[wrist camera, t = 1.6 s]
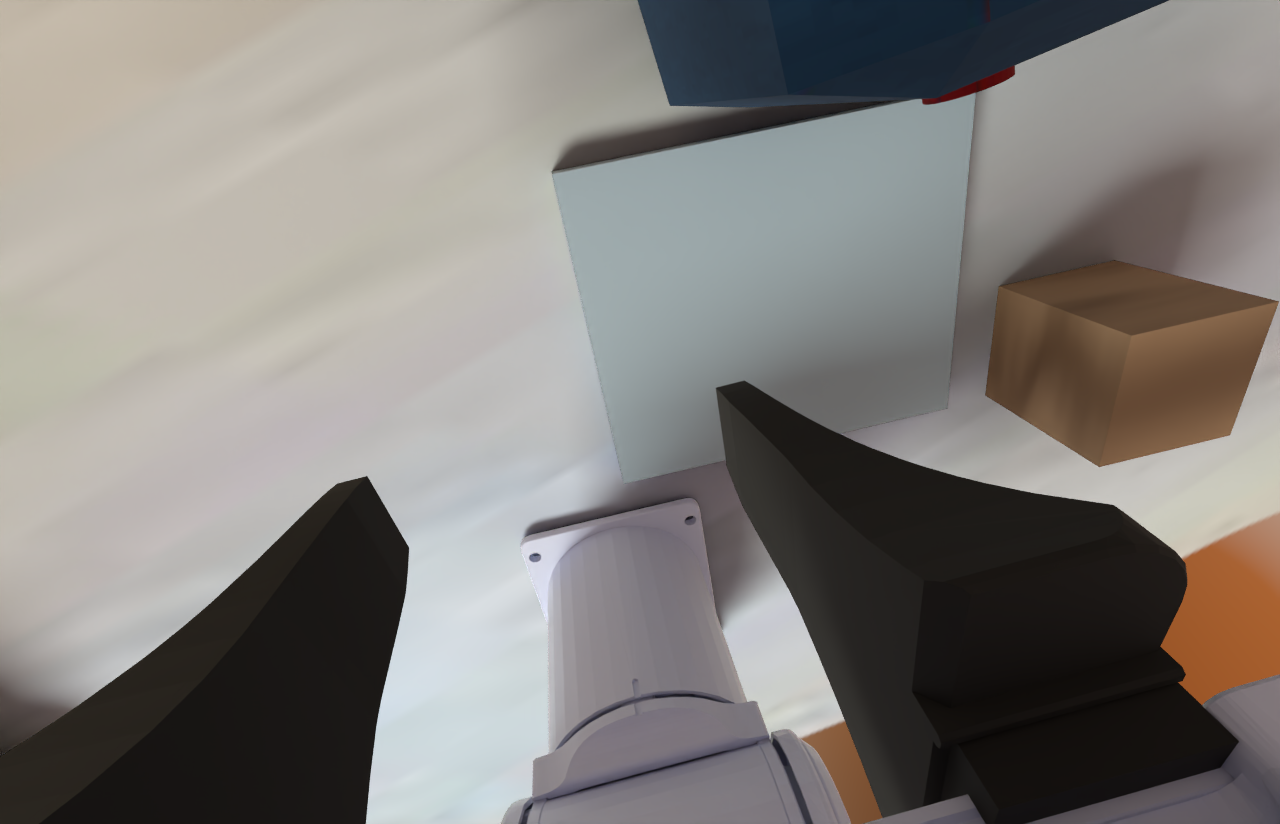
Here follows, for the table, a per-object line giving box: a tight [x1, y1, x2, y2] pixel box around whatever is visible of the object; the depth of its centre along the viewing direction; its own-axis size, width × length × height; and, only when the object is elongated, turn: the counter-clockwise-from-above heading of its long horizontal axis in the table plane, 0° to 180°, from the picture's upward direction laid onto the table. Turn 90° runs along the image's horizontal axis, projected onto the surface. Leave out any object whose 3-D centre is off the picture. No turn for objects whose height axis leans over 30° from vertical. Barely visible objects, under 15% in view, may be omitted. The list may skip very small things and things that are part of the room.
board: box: [552, 93, 976, 484], centre depth 22 cm, size 12×14×1 cm
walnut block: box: [985, 260, 1279, 467], centre depth 22 cm, size 5×5×6 cm
